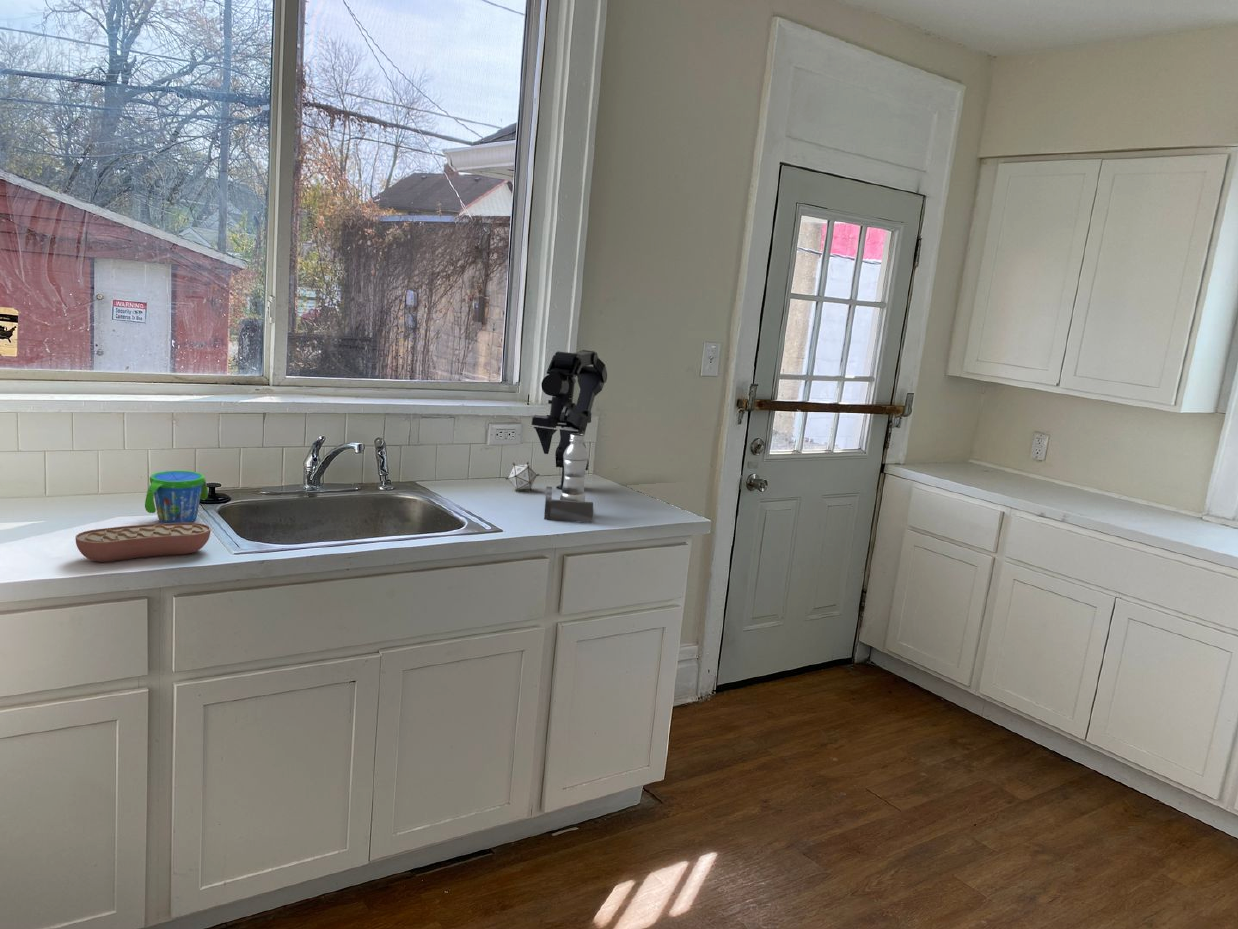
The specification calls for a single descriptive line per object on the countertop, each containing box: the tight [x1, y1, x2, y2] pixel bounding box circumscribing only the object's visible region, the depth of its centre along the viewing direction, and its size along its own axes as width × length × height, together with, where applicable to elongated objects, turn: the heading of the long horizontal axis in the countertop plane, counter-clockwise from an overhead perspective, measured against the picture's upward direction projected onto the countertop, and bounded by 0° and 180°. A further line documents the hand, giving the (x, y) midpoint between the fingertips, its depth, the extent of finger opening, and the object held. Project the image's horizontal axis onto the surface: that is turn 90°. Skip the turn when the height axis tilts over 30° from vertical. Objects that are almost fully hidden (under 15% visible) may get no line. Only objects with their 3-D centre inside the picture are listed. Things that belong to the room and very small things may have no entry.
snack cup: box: [144, 470, 209, 523], centre depth 195 cm, size 16×10×10 cm
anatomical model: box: [75, 522, 212, 563], centre depth 171 cm, size 23×10×5 cm, turn 128°
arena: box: [543, 486, 594, 524], centre depth 233 cm, size 16×12×5 cm
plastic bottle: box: [559, 434, 589, 502], centre depth 231 cm, size 6×7×20 cm
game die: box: [504, 461, 540, 493], centre depth 254 cm, size 9×8×10 cm
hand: (555, 454), depth 246 cm, fingers open, 9 cm apart
